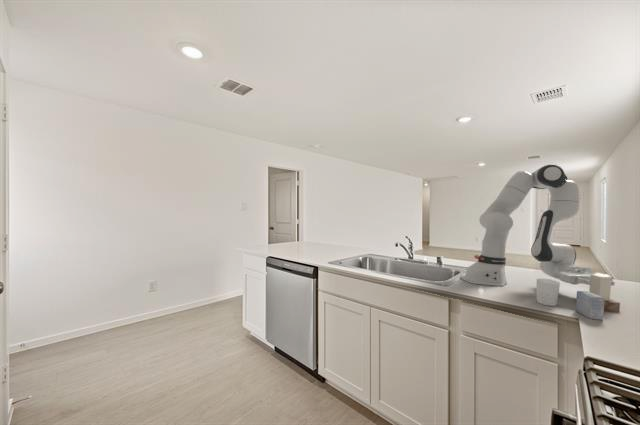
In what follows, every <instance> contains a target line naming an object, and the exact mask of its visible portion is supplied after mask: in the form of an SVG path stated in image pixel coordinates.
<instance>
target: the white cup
mask: <svg viewBox="0 0 640 425" xmlns="http://www.w3.org/2000/svg"><path fill="white" fill-rule="evenodd" d="M560 285H561V283H560V281H557V280H554V279H550V278H542V277H541V278H538V277H537V278H536V286H535V287H536V291H535V292H536V303H538V304H540V305H544V306H548V305H549V307H556V306H557V304H558V298H559V293H560Z"/></svg>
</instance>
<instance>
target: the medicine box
mask: <svg viewBox="0 0 640 425" xmlns="http://www.w3.org/2000/svg"><path fill="white" fill-rule="evenodd" d="M575 299H576V301H575V312H577V313H579V314H581V315H583V316H585V317H587V318H588V319H590V320H599V321H603V320H604V312H605V311H604V298H603V297H601V296H598V295H596V294H594V293H591V292H589V291H586V290H577V291H576V298H575Z"/></svg>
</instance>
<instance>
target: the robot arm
mask: <svg viewBox="0 0 640 425" xmlns="http://www.w3.org/2000/svg"><path fill="white" fill-rule="evenodd" d="M532 189H536V190H545V189H547V190H548V191H549V193H550V199H549V200H550V201H549V206H548V208H547V210H546V211H545V210H544V212H543V213H542V214H541V216H540V220H539V223H538V227H537V231H536V235H535V240H534V242H533V243H532V246H531V249H530V253H531V255H532V257H533V258H534V259H535V260H536V261H538V262H540V263H539V268H540V270H541V271H542V273H544V274H545V275H547V276H548V277H550V278H553V279H557V280H559V281H561V282H564V283H567V284H571V285H579V284H583V285H584V284H585V285H588V286H590V285H592V281H590V274H601V275H605V276H608V277H611V286H615V284H616V283H615V281H614V280H613V279H614V278H613V276H612V275H609V274H607V273H604V272H601V271H597V270H595V268H589V267H582V266H578V265H575V262H576V259H577V252H576V249H575V248H574V247H573V246H572V245H571V244H568V243H559V242H550V240H551V235H552V232H553V228H554V226H555V225H556V224H557V223H559V222H561V221H566V220H567V221H568V220H569V219H572V218H574V217H575V216H576V215H577V214H578V212H579V209H580V189H579V186H578V183H577V182H575V181H574V180H569V179H568V177H567V175H566V173H565V171H564V169H563V168H562V167H561V166H559V165H557V164H546V165H544V166H543V165H542V166H541V167H540V168H538V169H537V170H534V172H528V171H526V170H525V171H524V170H521V171H517V172H515V173H514V174H512V176H511V177H510V178H509V180H507V183H506V184H505V185H504V187H503V188H502V190H501V191H500V193H499V194H498V196H497V197H496V198H495V200H494V201H493V202H492V203H491V204H490V205H489V206H488V208H486V210H485V211H484V212H483V213H482V214H481V215H480V217H479V218H478V219H479V224H480V226H482V228H483V229H485V233H484V237H483V238H482V241H481V254H480V255H477V254H474V259H477V261H476V262H474V263H472V264H470V265H469V266H468V267H467V268H466V269H465V274H461V275H460V278H461V279H462V280H463V281H465V282H468V283H470V284H473V285H483V286H484V285H485V286H496V287H497V286H498V287H505V285H507V284H508V282H507V277H506V268H505V267H506V260H507V259H506V258H507V257H506V245H507V240H508V236H509V234H510V230H511V229H512V228H513V225H514V220H513V218H512V217H511V215H512V214H513V213H514V211H516V210H517V209H518V208H519V207H520V206H521V204H522V203H523V202H524V200H525V198H526V197H527V196H528V194H529V192H530V191H531V190H532Z"/></svg>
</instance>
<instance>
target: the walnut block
mask: <svg viewBox="0 0 640 425" xmlns="http://www.w3.org/2000/svg"><path fill="white" fill-rule="evenodd" d="M620 306H621V303H620V302H618V301H616V300H614V299H613V300H612V299H610V301H604V312H620V308H621V307H620Z"/></svg>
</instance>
